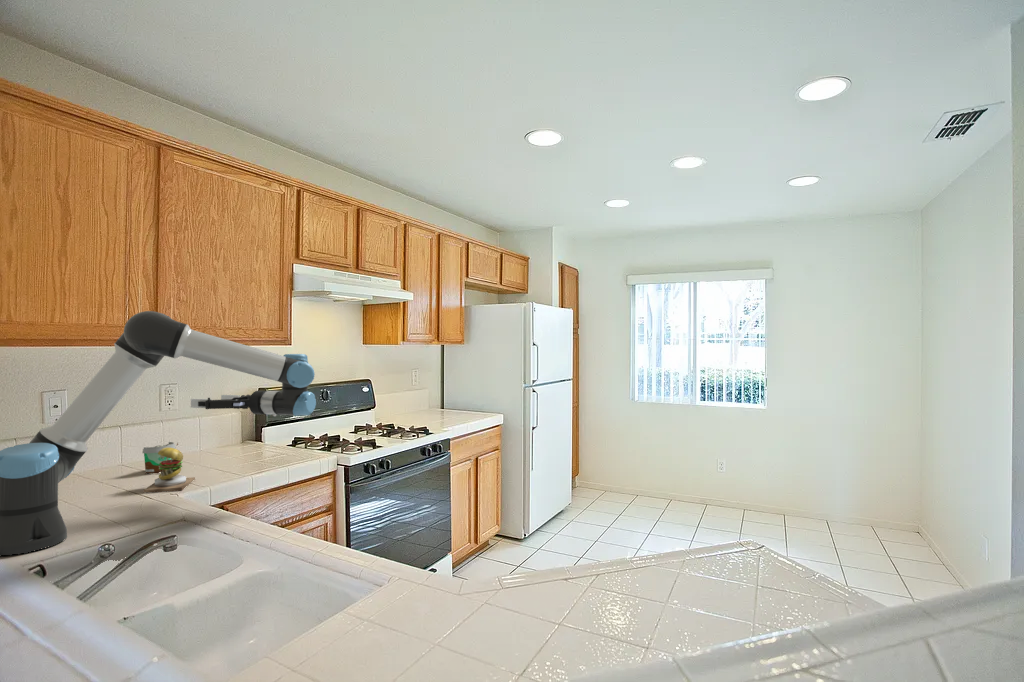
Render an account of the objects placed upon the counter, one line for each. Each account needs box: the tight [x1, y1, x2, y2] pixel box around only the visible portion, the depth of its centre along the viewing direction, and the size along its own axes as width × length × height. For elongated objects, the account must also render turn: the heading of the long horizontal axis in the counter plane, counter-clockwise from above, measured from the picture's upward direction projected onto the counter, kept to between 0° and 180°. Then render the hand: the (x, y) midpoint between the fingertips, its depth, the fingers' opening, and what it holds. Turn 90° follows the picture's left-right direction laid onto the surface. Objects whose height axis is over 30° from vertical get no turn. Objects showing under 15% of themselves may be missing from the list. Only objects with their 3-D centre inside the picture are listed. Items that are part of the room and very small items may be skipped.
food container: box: [142, 441, 177, 474], centre depth 203 cm, size 12×6×10 cm, turn 168°
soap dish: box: [143, 474, 196, 493], centre depth 182 cm, size 11×14×3 cm
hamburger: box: [158, 442, 184, 480], centre depth 182 cm, size 8×7×12 cm
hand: (207, 400), depth 175 cm, fingers open, 13 cm apart
